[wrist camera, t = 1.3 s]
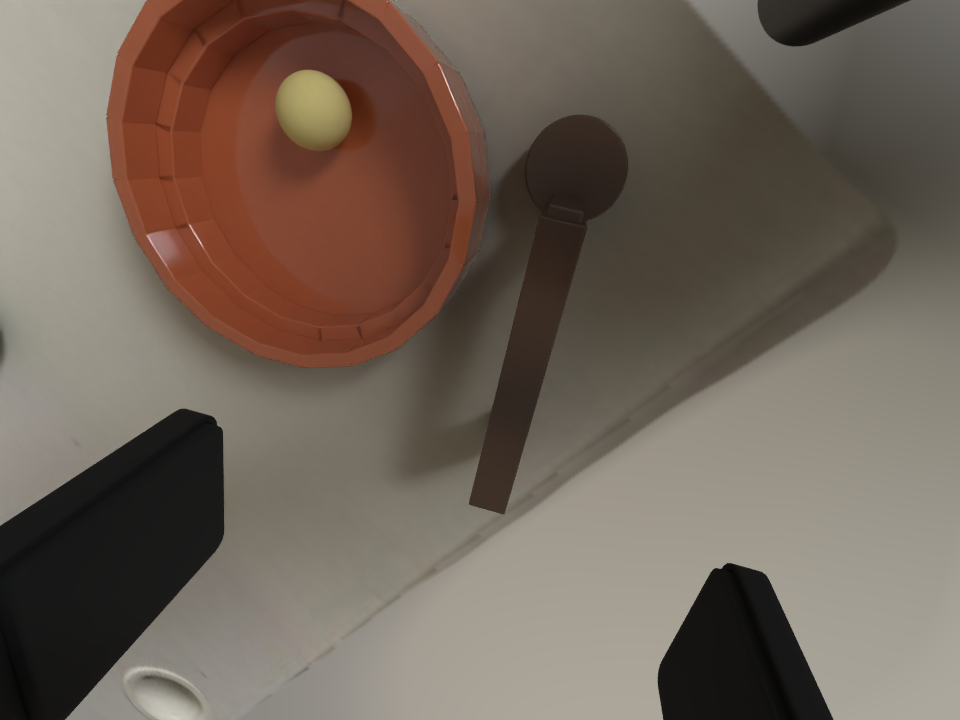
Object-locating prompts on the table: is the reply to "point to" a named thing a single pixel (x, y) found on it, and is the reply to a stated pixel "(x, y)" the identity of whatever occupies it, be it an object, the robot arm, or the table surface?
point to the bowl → (298, 173)
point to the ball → (313, 110)
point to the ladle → (546, 282)
